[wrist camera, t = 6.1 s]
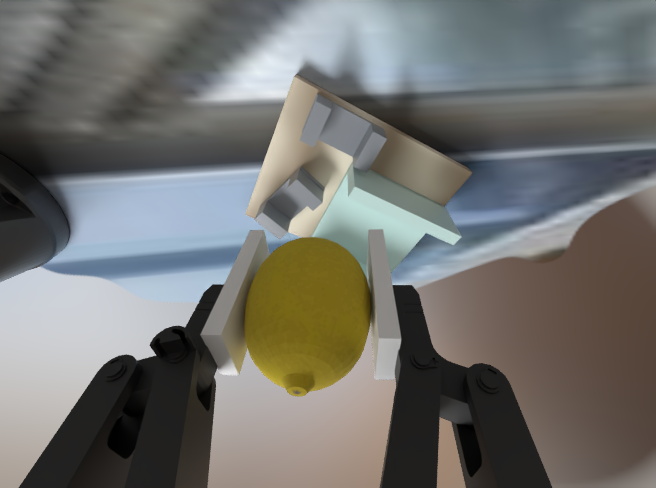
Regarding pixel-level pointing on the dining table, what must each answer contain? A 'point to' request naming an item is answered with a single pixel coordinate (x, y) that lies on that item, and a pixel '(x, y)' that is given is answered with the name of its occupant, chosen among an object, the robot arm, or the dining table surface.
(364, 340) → the lemon
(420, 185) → the board
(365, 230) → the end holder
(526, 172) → the dining table surface
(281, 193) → the clip
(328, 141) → the clip
